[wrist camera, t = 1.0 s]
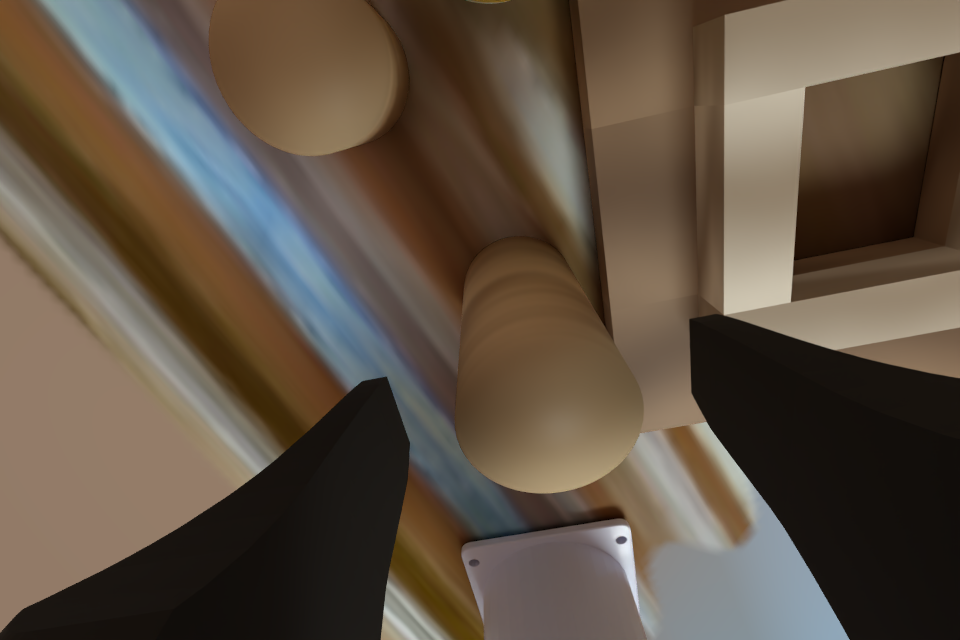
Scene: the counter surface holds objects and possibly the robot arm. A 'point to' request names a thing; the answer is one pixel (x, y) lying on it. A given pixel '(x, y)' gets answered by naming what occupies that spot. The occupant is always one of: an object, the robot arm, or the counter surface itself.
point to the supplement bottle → (488, 1)
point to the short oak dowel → (309, 71)
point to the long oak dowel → (539, 374)
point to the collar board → (662, 197)
